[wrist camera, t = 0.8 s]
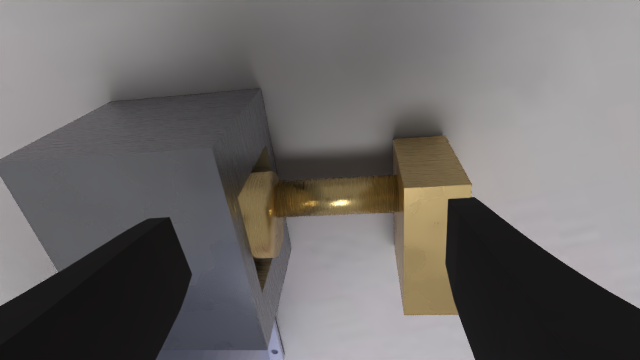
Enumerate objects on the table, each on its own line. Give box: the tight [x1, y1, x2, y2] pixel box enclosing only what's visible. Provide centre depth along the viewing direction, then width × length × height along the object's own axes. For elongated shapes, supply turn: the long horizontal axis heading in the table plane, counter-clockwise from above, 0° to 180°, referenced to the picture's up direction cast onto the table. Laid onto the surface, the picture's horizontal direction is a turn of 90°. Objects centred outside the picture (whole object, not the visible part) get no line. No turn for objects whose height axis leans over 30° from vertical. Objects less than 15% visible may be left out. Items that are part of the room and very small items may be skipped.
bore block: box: [0, 89, 291, 350], centre depth 18 cm, size 10×8×7 cm
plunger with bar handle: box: [238, 136, 472, 315], centre depth 18 cm, size 7×15×5 cm, turn 97°
